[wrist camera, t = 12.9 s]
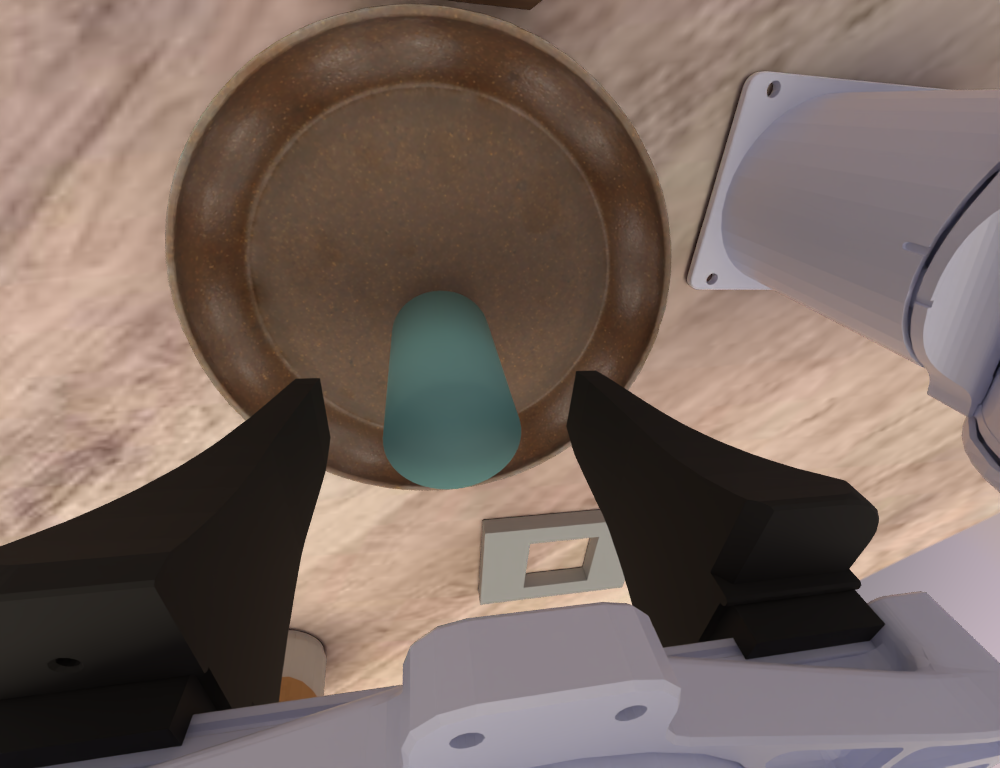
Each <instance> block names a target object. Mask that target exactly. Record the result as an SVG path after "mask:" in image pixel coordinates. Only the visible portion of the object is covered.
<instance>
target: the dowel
mask: <svg viewBox="0 0 1000 768" xmlns="http://www.w3.org/2000/svg"><path fill="white" fill-rule="evenodd" d="M520 439H521V424H520V419H519V416H518V413H517V410H516V407H515V404H514V401H513V398H512V395H511V392H510V389H509V386H508V383H507V380H506V377H505V374H504V371H503V368H502V365H501V362H500V359H499V356H498V353H497V350H496V347H495V344H494V341H493V338H492V335H491V332H490V329H489V326H488V323H487V320H486V318H485V316H484V314H483V312H482V311H481V309H480V308H479V307H478V306H477V305H476V304H475V303H474V302H473V301H472V300H470V299H468V298H467V297H465V296H463V295H461V294H458V293H455V292H450V291H432V292H427V293H424V294H421V295H419V296H417V297H415V298H413V299H412V300H410V301H409V302H408V303H406V304H405V305H404V306H403V307H402V309H401V310H400V311H399V313H398V314H397V316H396V318H395V320H394V324H393V328H392V337H391V349H390V360H389V372H388V383H387V395H386V407H385V418H384V430H383V447H384V451H385V454H386V457H387V459H388V461H389V462H390V464H391V465H392V466H393V468H394V469H395V470H396V471H397V472H398V473H399V474H401V475H402V476H403V477H405V478H406V479H408V480H410V481H412V482H414V483H416V484H419V485H422V486H425V487H429V488H435V489H458V488H464V487H469V486H472V485H475V484H478V483H481V482H483V481H485V480H487V479H489V478H491V477H493V476H494V475H496V474H497V473H498V472H500V471H501V470H502V469H503V468H504V467H505V466H506V465H507V464H508V463H509V462H510V461H511V459H512V458H513V456H514V455H515V453H516V451H517V449H518V446H519V443H520Z"/></svg>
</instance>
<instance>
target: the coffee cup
mask: <svg viewBox="0 0 1000 768" xmlns="http://www.w3.org/2000/svg"><path fill="white" fill-rule="evenodd" d="M326 662H327V657H326V655H325V653H324V648H323V646H322V644H321V642H320V641H318V640H317V639H316V638H315V637H313V636H311V635H309V634H307V633H303V632H300V631H295V630H289V631H288V638H287V645H286V652H285V659H284V666H283V673H282V681H281V690H280V698H279V702H285V701H292V700H299V699H306V698H313V697H320V696H324V685H325V673H326Z"/></svg>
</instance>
